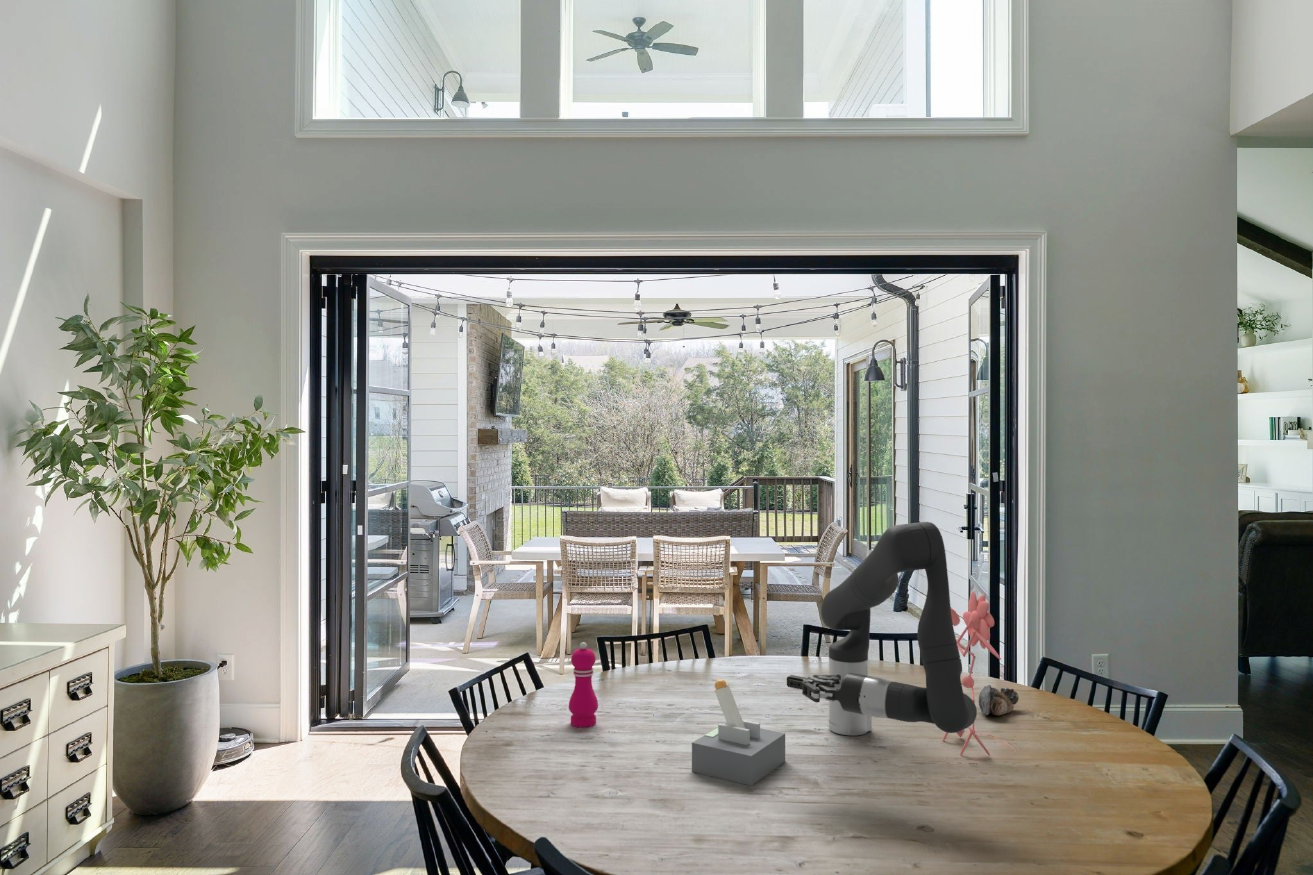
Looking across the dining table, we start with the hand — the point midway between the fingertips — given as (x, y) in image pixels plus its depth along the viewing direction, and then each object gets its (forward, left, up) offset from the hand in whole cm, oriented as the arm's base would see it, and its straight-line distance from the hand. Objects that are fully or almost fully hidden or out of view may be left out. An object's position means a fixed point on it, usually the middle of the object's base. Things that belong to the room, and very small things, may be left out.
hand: (788, 680), depth 179 cm
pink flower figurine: (-48, +3, -20) cm, 52 cm away
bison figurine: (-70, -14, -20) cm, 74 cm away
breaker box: (+8, -7, -19) cm, 22 cm away
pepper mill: (+31, -46, -20) cm, 59 cm away
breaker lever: (+8, -7, -12) cm, 16 cm away
